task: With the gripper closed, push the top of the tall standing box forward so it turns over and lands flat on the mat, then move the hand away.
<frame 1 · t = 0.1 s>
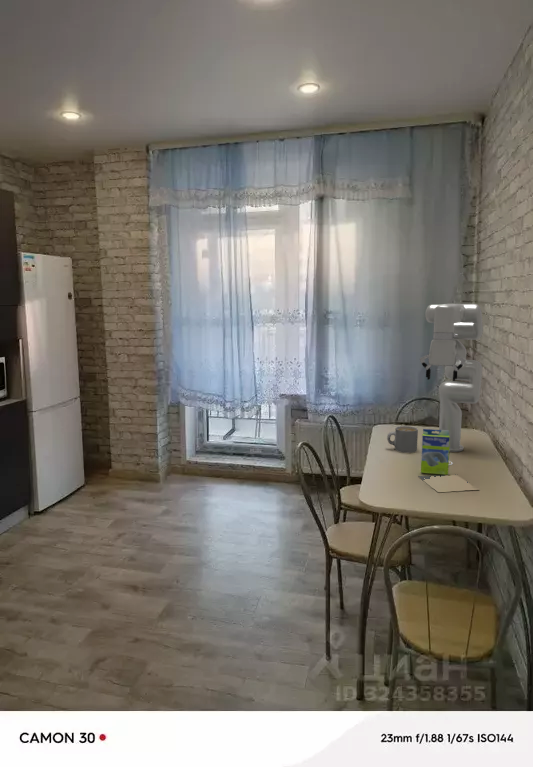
hand: (441, 379, 207), 37 cm above the table, tool pointing down, fingers open, 9 cm apart
mat: (447, 483, 197), on the table
box: (434, 473, 208), on the table, touching mat
coffee mug: (401, 449, 242), on the table
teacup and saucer: (435, 463, 223), on the table
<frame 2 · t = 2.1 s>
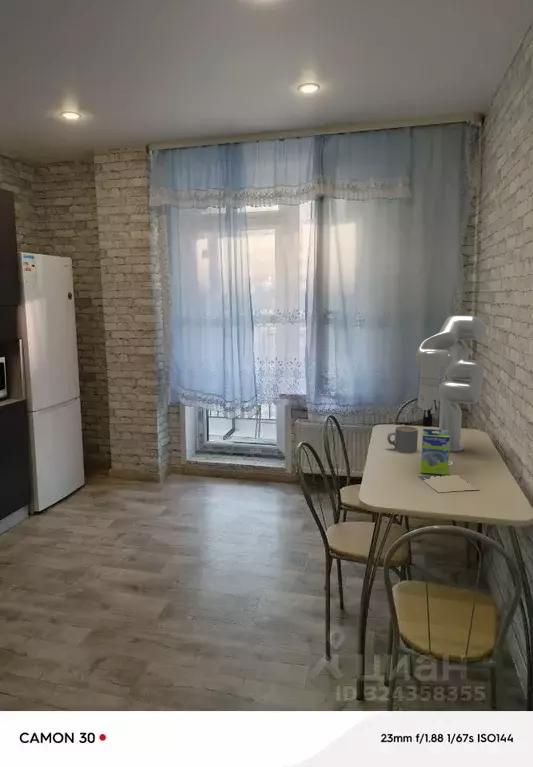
hand: (427, 425, 213), 18 cm above the table, tool pointing down, fingers closed
nothing on the table moved.
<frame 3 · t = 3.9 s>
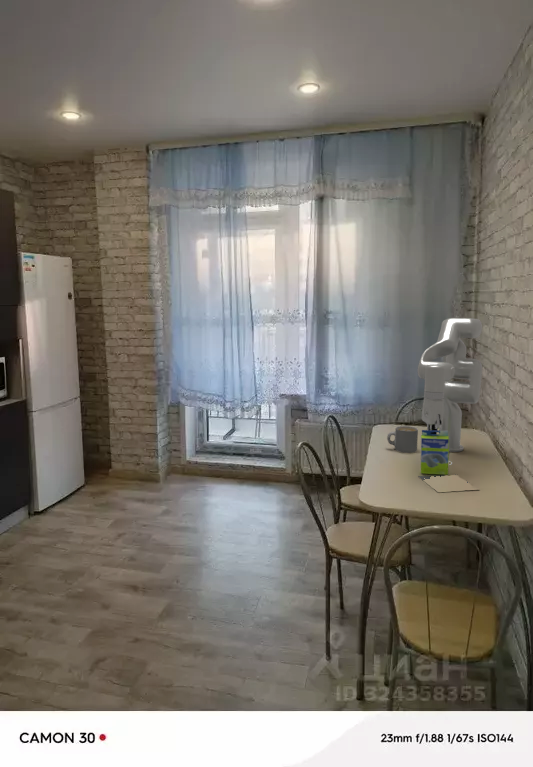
hand: (431, 440, 210), 13 cm above the table, tool pointing down, fingers closed
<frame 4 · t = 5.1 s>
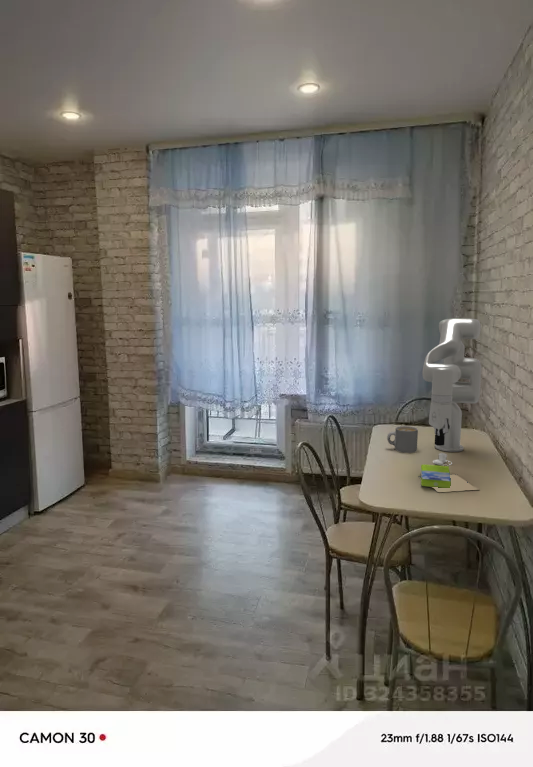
hand: (439, 444, 203), 13 cm above the table, tool pointing down, fingers closed
box: (434, 469, 206), point 2 cm above the table, touching mat
everything else where it was.
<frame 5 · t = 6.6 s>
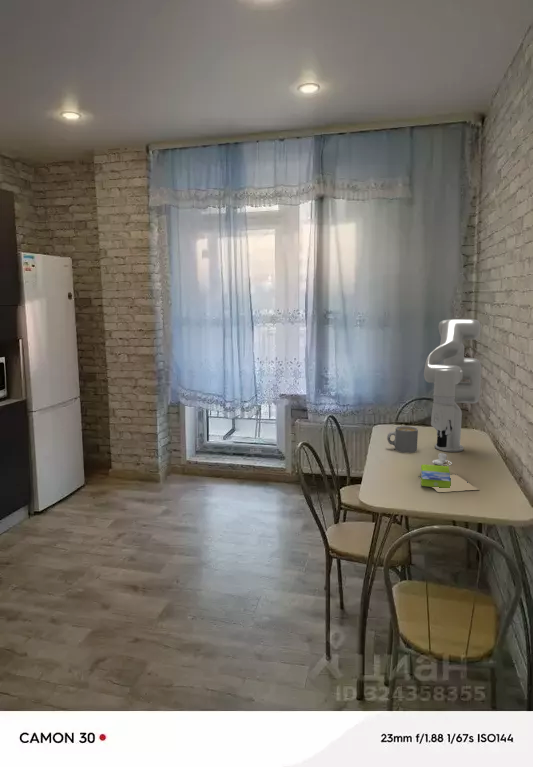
hand: (441, 446, 201), 13 cm above the table, tool pointing down, fingers closed
nothing on the table moved.
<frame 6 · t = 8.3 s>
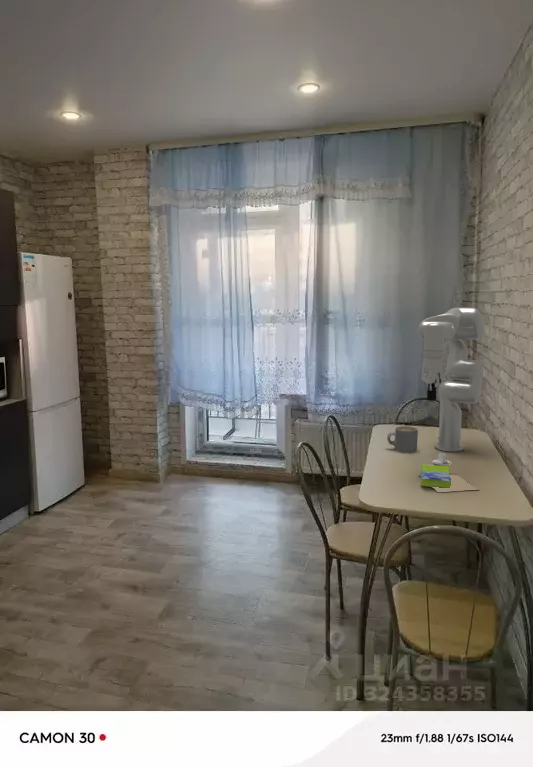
hand: (431, 399, 209), 29 cm above the table, tool pointing down, fingers closed
nothing on the table moved.
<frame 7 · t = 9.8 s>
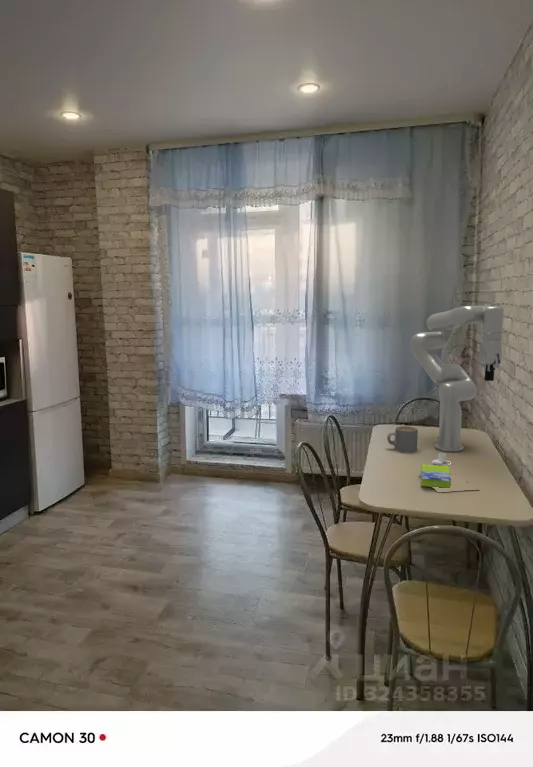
hand: (489, 380, 218), 35 cm above the table, tool pointing down, fingers closed
nothing on the table moved.
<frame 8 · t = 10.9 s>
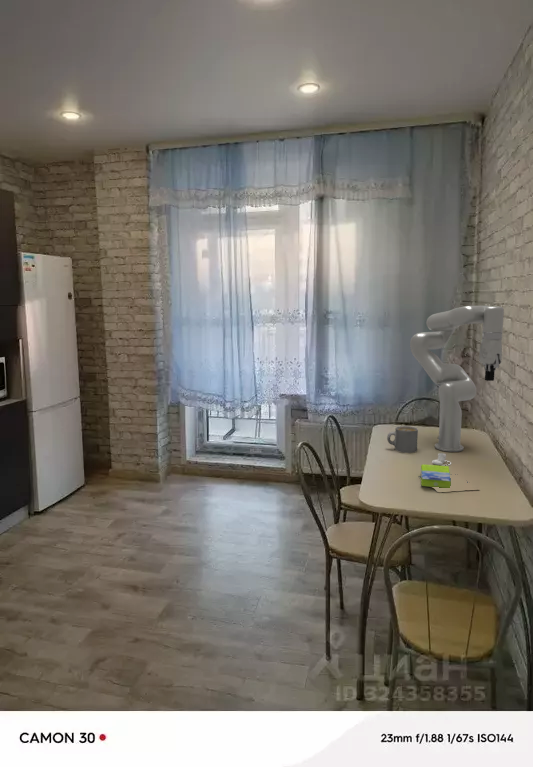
hand: (489, 380, 218), 35 cm above the table, tool pointing down, fingers closed
nothing on the table moved.
at the end: box tilted 90°; box inside the target area (7.8 cm from its centre), point 2.4 cm above the table; the gripper is holding nothing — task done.
